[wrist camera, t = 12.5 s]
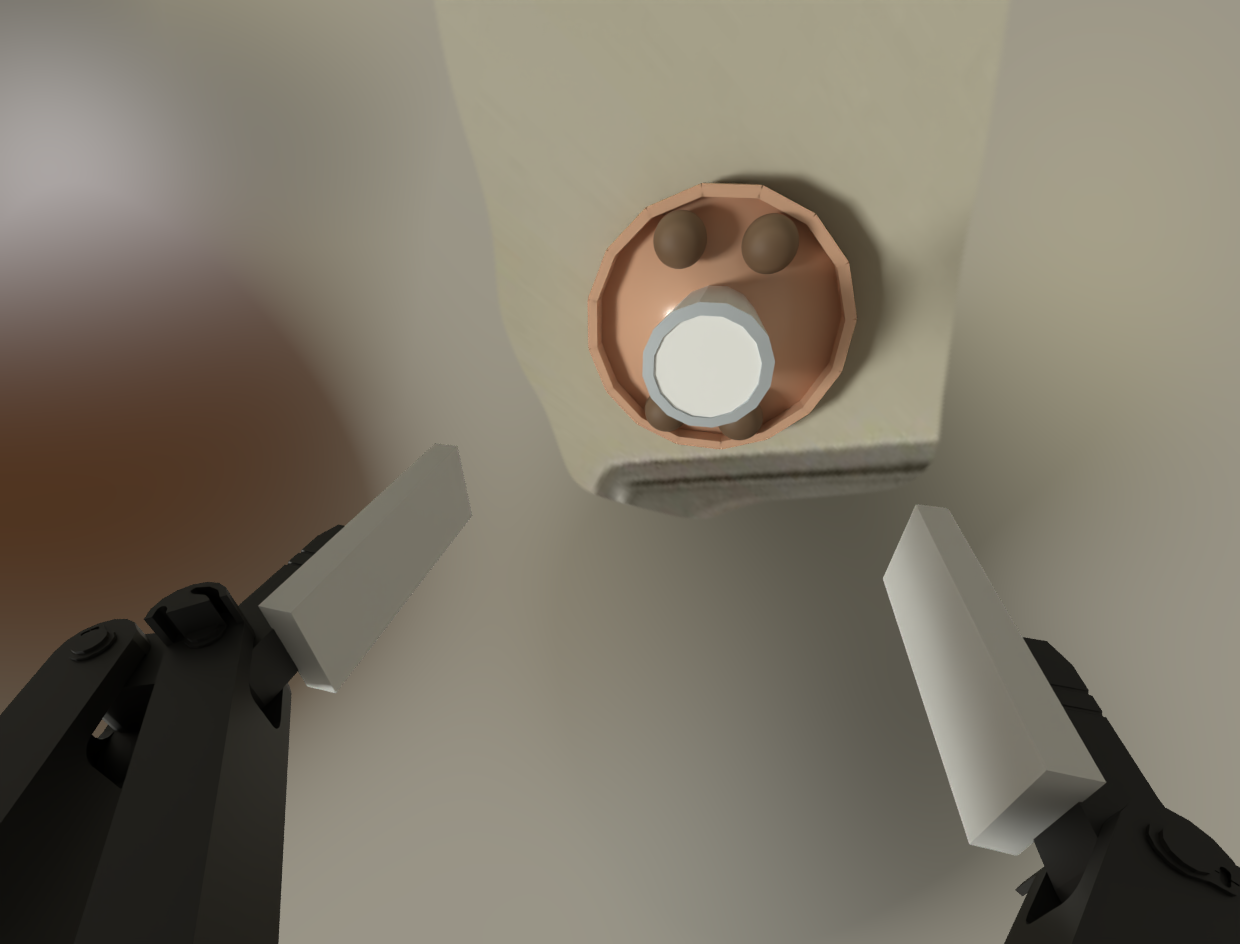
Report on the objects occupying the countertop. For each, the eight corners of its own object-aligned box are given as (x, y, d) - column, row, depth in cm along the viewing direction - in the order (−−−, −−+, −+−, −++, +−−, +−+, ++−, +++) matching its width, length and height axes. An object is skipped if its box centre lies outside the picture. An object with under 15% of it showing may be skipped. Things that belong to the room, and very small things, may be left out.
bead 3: (720, 385, 32) (718, 404, 30) (766, 390, 32) (767, 409, 29) (715, 425, 34) (712, 445, 31) (758, 430, 33) (759, 451, 31)
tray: (595, 179, 28) (585, 180, 26) (884, 187, 25) (894, 188, 24) (597, 420, 37) (590, 433, 35) (812, 445, 34) (816, 461, 32)
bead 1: (659, 206, 27) (650, 210, 25) (711, 208, 27) (708, 213, 24) (656, 262, 29) (647, 272, 27) (705, 265, 28) (701, 275, 26)
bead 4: (746, 210, 27) (746, 214, 24) (802, 211, 26) (808, 217, 24) (737, 267, 28) (737, 277, 26) (790, 270, 28) (794, 280, 25)
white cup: (793, 320, 29) (805, 359, 23) (719, 400, 33) (714, 450, 27) (705, 249, 28) (695, 271, 22) (639, 340, 32) (616, 379, 26)
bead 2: (649, 378, 33) (642, 396, 31) (692, 382, 33) (688, 401, 30) (647, 417, 35) (640, 436, 32) (688, 421, 34) (684, 442, 32)
